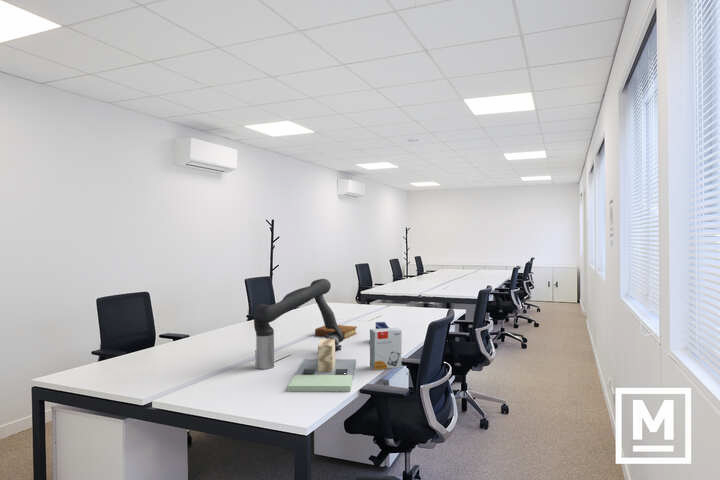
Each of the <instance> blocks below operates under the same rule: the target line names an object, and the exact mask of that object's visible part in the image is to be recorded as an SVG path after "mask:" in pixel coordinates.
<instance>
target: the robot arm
mask: <svg viewBox="0 0 720 480" xmlns="http://www.w3.org/2000/svg"><path fill="white" fill-rule="evenodd" d="M330 290H331V282H330V280H328V279H326V278H318V279H316V280H313V281H312V282H311V283H310V285H309V286H305V287H302V288H298V289H294V290H292V291H291V292H288V293H287V294H286V295H285V296H284V297H283V298H282V300H280V301H279V302H276V303H274V304H265V303H260V304H257V305H256V306H255V308H254V310H253V325H254V326H253V328H254V332H255V341H256V342H255V343H256V344H255V347H256V349H255V351H254V352H255V354H254V356H255V357H254V358H255V360H254V361H255V367H254V368H255V369H259V370H268V369H273V368H274V367H275V336H274V335H275V330H274V328H273V327H272V326H271V325H270V323H271V322H274V321H275V320H277V319H278V318H280V317H281V316H283V315H284V314H287V313H289V312H291V311H293V310H295V309H297V308H299V307H301V306H303V305H304V304H306V303H308V302H310V301H312V300H313V299H314V300H315V302H316V304H317V307H318V309H319V311H320V314H321V318H322V320H323V323H324V326H325V327H326V329H334V330H335V331H334V332H331V333H328V334H327V335H326V337H325V339H335V353H336V352H339V351H342V345H341V344H340V343H342V342H343V341H344V340H345V339H344V336H343V333H342V332H341V330H340V329H339V327H338V325H339V324H338V323H337V319H336V316H335V313H334V312H333V310H332V308H331V307H330V306H329V305H328V303H327V302H326V301H327V300H326V299H325V297H324V295H325V294H327V293H329V292H330Z"/></svg>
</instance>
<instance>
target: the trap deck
mask: <svg viewBox="0 0 720 480" xmlns="http://www.w3.org/2000/svg"><path fill="white" fill-rule="evenodd" d="M356 365H357V359H356V358H355V359H353V358H351V359H348V358H347V359H346V358H345V359H342V358H340V359H336V358H335V366H334V369H333V372H318V358H316V359H314V358H313V359H312V358H311V359H310V358H309V359H308V358H307V359H306V358H305V359H304V360H303V361H302V362H301V365H300V366H299V367H298V369H297V371H296V373H295V374H294V376H293V377H292V379H291V380H290V381H289V384H288V385H287V392H317V391H342V392H343V393H344V392H345V393H346V392H351V391H352V386H353V382H352V381H353V380H354V377H353V376H355V372H354V371H355V370H356V367H355V366H356ZM344 373H346V374H344Z"/></svg>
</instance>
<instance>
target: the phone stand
mask: <svg viewBox="0 0 720 480" xmlns="http://www.w3.org/2000/svg"><path fill="white" fill-rule="evenodd" d="M382 328H390V327H389V326H388V325H387V323H386V322H385V321H376V322H375V329H382Z"/></svg>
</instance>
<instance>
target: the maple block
mask: <svg viewBox="0 0 720 480" xmlns="http://www.w3.org/2000/svg"><path fill="white" fill-rule="evenodd" d="M317 359H318V372H333V369H334V366H335V359H336V352H335V339H326V338H321V339H320V341H319V343H318V344H317Z"/></svg>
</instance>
